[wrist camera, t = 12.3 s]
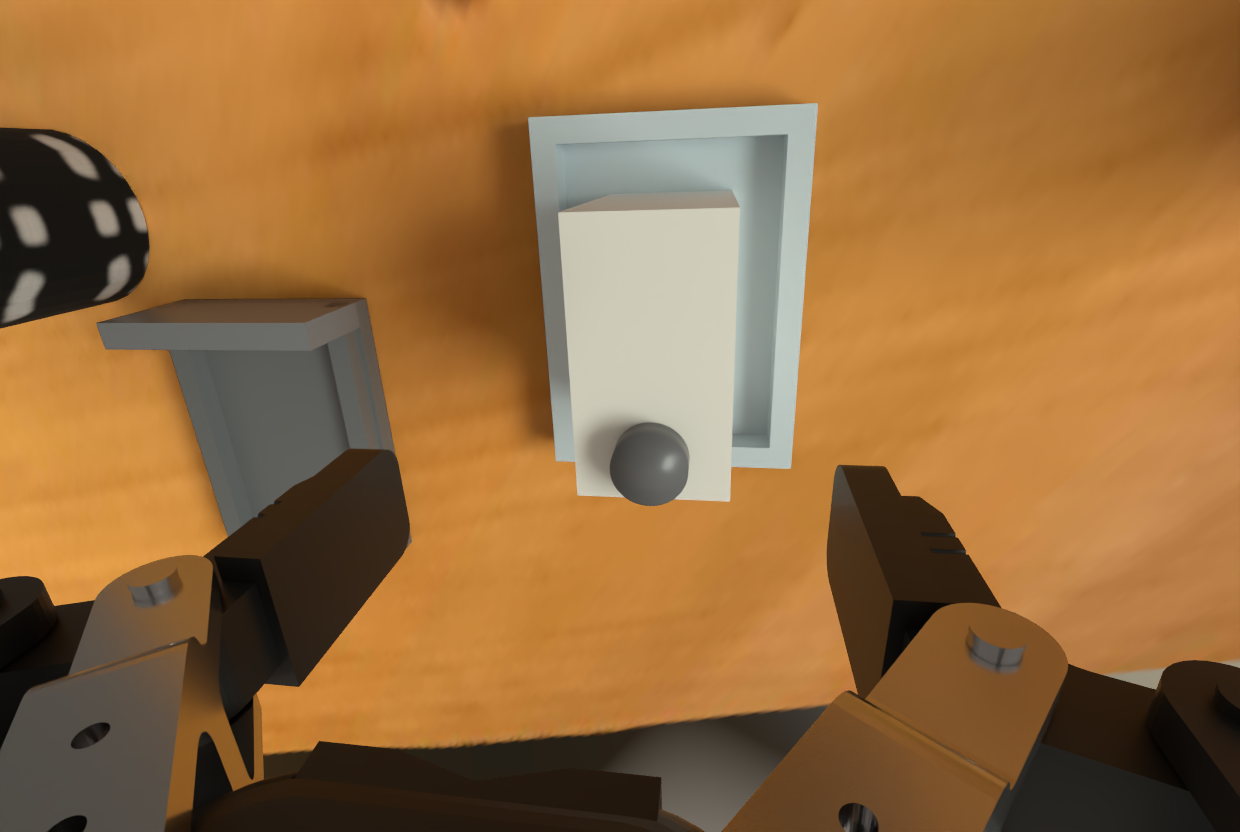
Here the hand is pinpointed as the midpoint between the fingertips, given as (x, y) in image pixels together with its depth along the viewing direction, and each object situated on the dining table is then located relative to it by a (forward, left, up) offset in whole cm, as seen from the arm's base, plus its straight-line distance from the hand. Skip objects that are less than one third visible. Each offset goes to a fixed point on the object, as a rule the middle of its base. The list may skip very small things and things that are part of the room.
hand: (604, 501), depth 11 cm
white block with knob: (0, 0, -18) cm, 18 cm away
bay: (+7, -20, -19) cm, 28 cm away
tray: (0, 0, -19) cm, 19 cm away
